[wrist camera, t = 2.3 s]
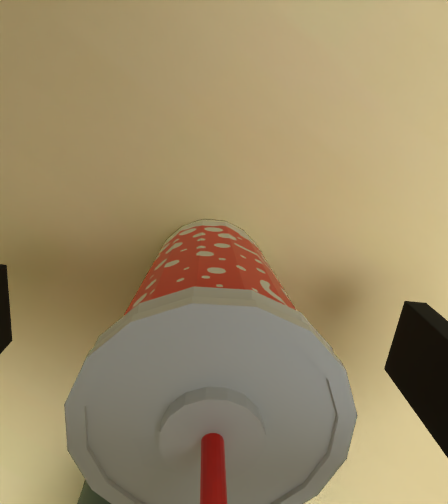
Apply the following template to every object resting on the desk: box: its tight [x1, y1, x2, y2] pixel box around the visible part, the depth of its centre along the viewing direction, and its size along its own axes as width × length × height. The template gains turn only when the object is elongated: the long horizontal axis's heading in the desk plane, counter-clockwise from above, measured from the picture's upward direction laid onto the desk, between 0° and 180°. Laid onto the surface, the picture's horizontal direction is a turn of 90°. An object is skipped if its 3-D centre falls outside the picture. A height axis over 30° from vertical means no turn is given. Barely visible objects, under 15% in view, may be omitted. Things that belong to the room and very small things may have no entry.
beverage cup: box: [64, 219, 357, 504], centre depth 10 cm, size 6×6×14 cm
